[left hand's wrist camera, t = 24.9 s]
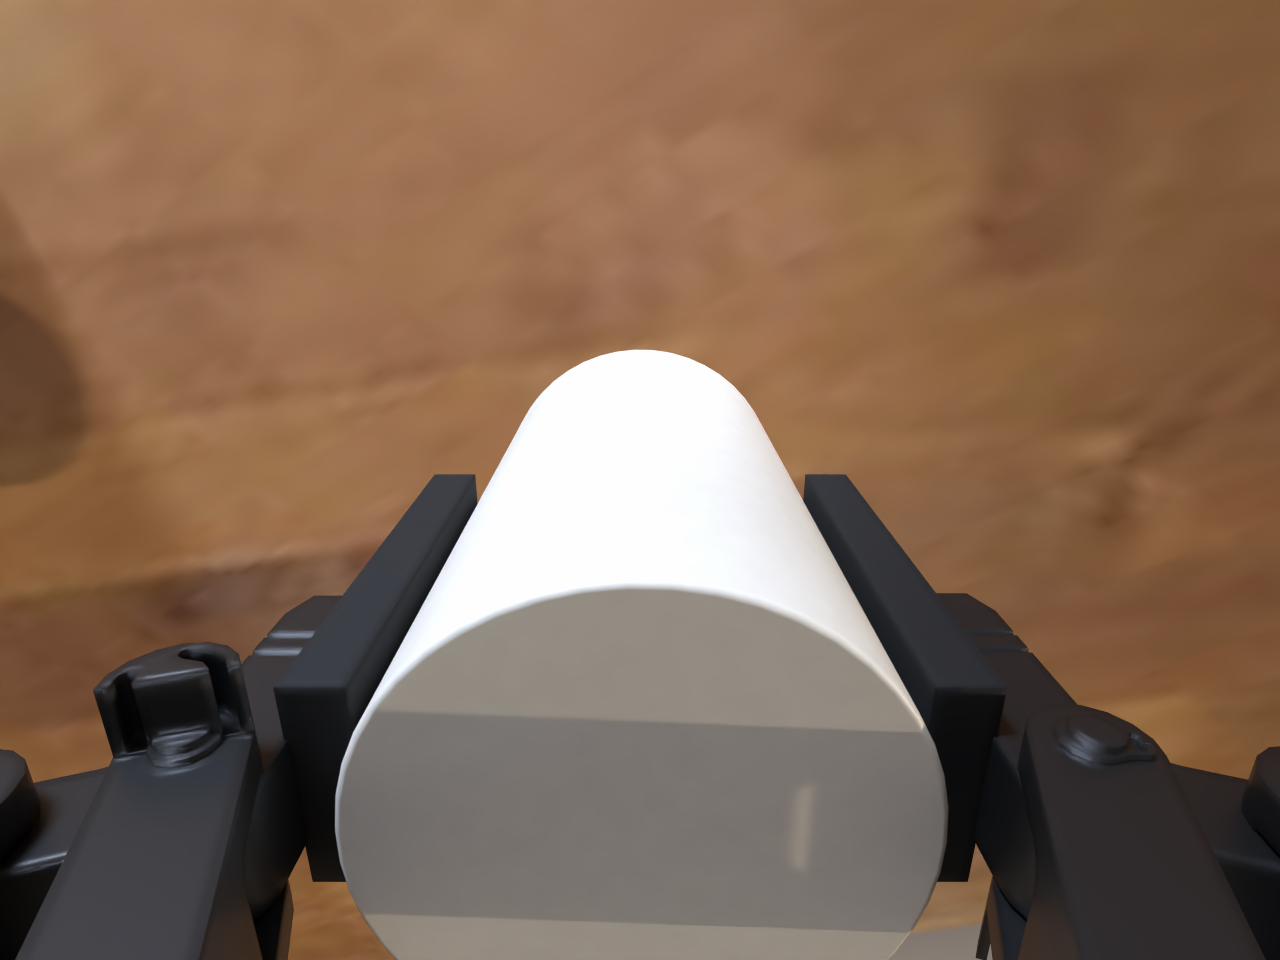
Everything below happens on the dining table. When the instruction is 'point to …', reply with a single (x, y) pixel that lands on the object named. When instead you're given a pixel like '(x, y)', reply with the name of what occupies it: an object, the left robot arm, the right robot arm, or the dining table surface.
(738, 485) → the cylinder
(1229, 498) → the dining table surface
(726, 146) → the dining table surface
